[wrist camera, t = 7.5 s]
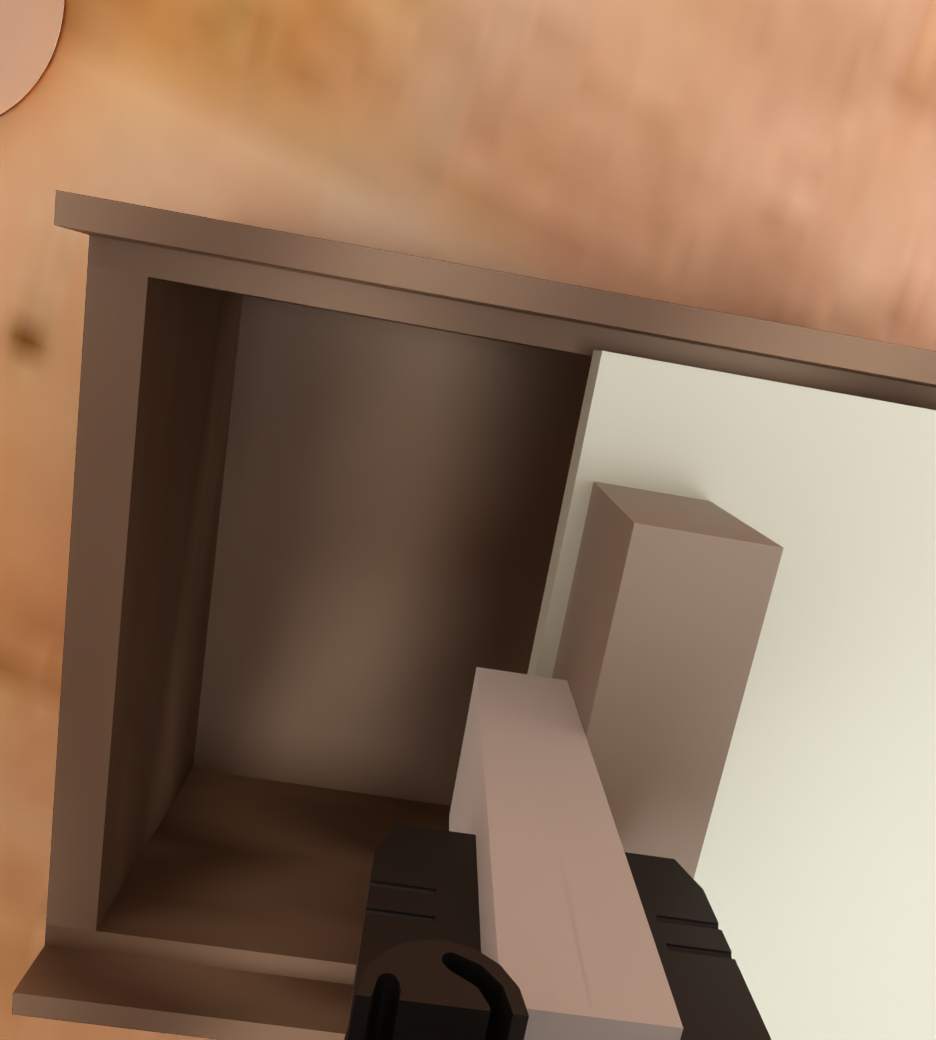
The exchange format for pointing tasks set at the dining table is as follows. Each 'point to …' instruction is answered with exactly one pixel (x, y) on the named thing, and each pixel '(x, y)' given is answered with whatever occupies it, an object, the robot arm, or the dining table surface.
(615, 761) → the lid
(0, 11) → the cup
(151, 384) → the box
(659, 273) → the dining table surface
